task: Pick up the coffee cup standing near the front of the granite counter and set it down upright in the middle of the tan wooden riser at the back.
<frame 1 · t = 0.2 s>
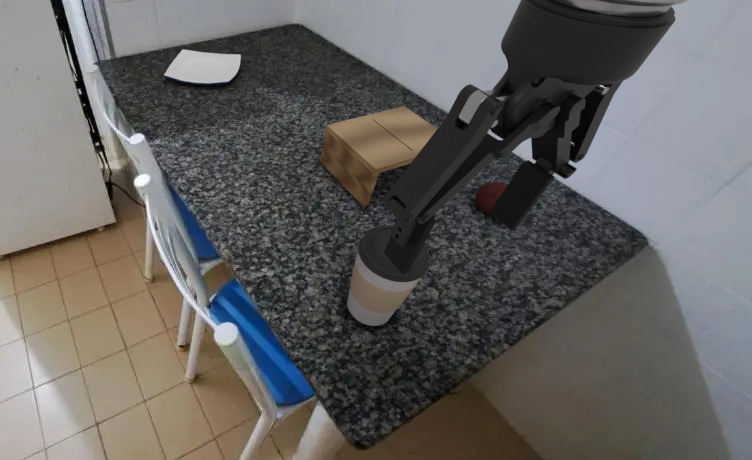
hand: (451, 240, 38), 24 cm above the table, tool pointing down, fingers open, 13 cm apart
coffee cup: (368, 306, 61), on the table
potato: (490, 212, 76), on the table
plate: (204, 74, 116), on the table
tan wooden riser: (379, 171, 84), on the table
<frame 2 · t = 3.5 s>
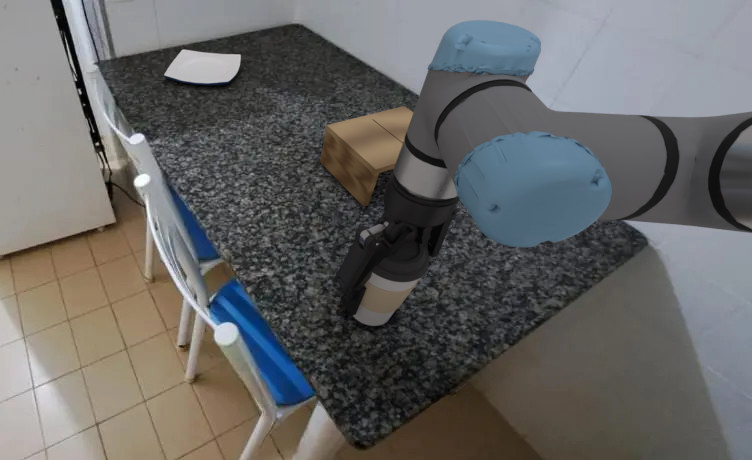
hand: (373, 297, 59), 2 cm above the table, tool pointing down, fingers closed on coffee cup, 8 cm apart
coffee cup: (368, 306, 61), on the table, touching gripper
everything else where it was.
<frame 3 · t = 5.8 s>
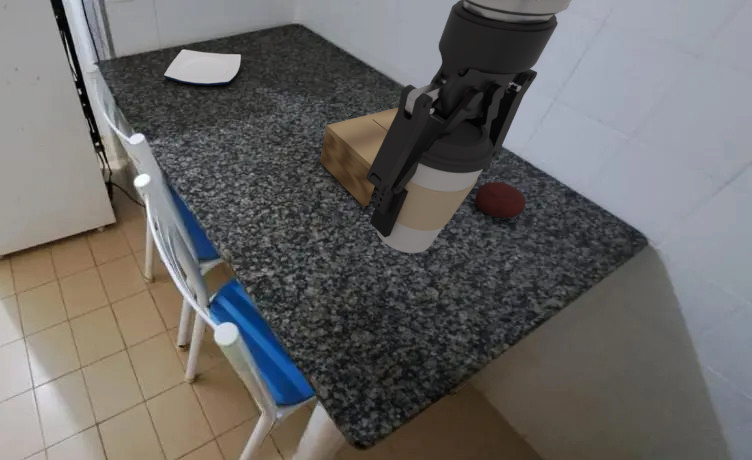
hand: (410, 217, 46), 20 cm above the table, tool pointing down, fingers closed on coffee cup, 8 cm apart
coffee cup: (403, 233, 48), point 17 cm above the table, touching gripper
everything else where it was.
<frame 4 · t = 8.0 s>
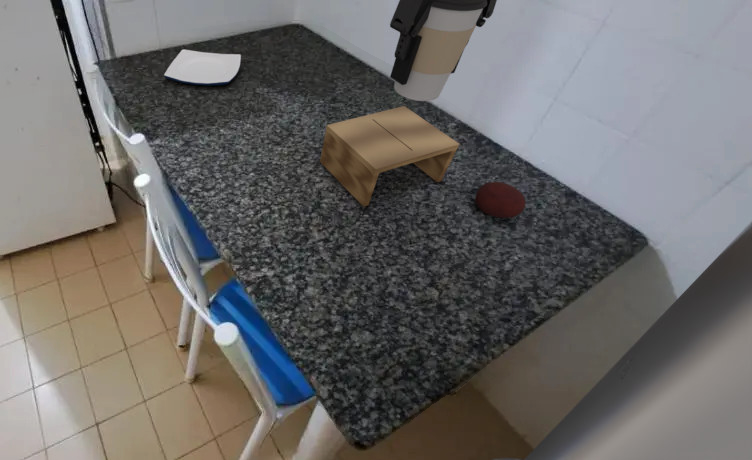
hand: (422, 74, 58), 26 cm above the table, tool pointing down, fingers closed on coffee cup, 8 cm apart
coffee cup: (416, 91, 60), point 23 cm above the table, touching gripper
everything else where it was.
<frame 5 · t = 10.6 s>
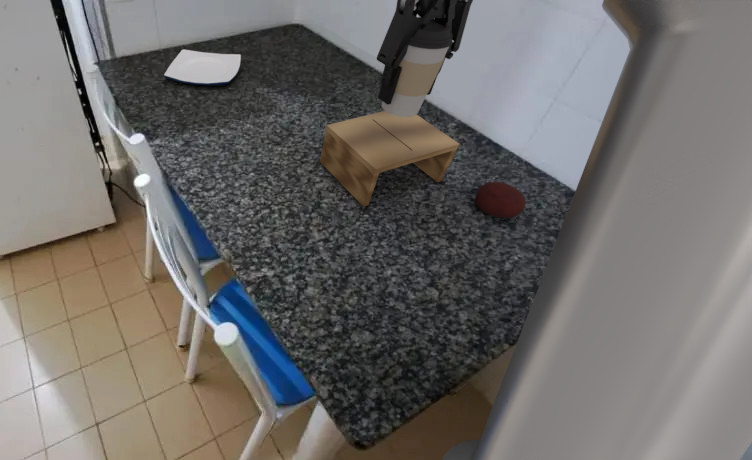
hand: (404, 95, 72), 17 cm above the table, tool pointing down, fingers closed on coffee cup, 8 cm apart
coffee cup: (399, 108, 73), point 15 cm above the table, touching gripper
everything else where it was.
when the fingers open (12 cm above the table, at t = 12.5 s): coffee cup stays where it is, resting on tan wooden riser.
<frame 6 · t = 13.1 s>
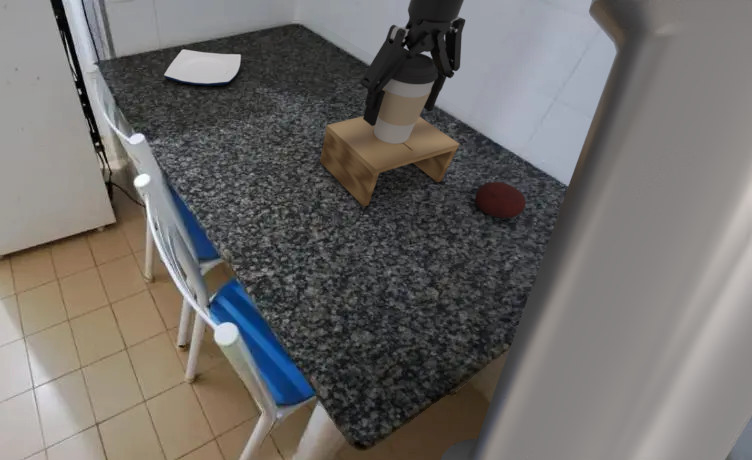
hand: (398, 114, 74), 13 cm above the table, tool pointing down, fingers open, 13 cm apart
coffee cup: (390, 134, 77), point 9 cm above the table, touching tan wooden riser
everything else where it was.
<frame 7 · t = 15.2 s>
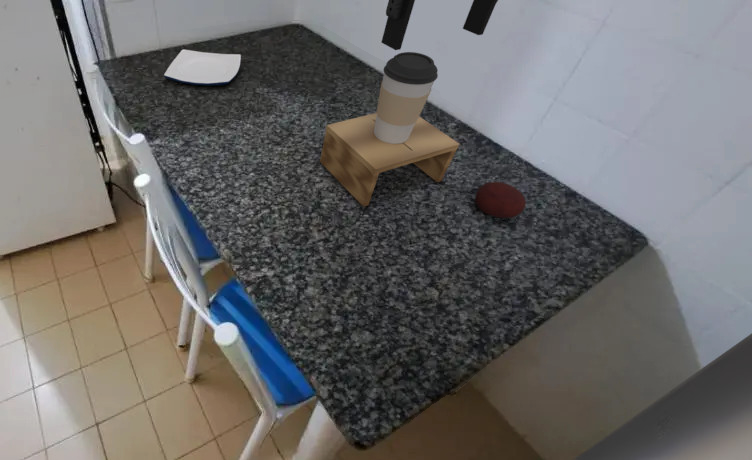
hand: (433, 38, 50), 33 cm above the table, tool pointing down, fingers open, 13 cm apart
nothing on the table moved.
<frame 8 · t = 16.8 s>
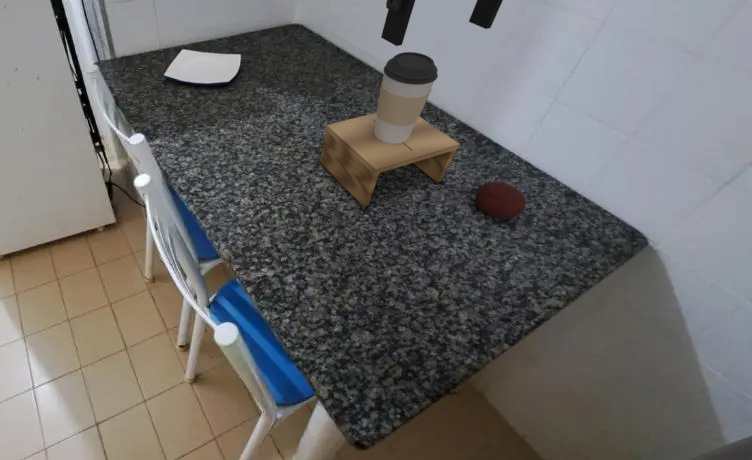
hand: (437, 33, 46), 35 cm above the table, tool pointing down, fingers open, 13 cm apart
nothing on the table moved.
at the end: coffee cup inside the target area on the tan wooden riser (0.1 cm from its centre), point 9.1 cm above the tan wooden riser's base; coffee cup tilted 2°; the gripper is holding nothing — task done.
